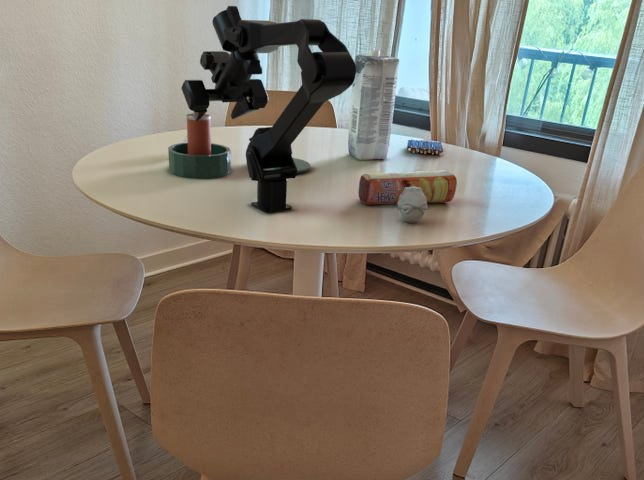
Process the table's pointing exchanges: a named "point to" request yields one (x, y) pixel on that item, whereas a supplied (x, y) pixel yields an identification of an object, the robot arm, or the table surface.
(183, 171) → the pot
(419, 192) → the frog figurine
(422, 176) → the snack package
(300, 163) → the pot lid
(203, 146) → the tin can
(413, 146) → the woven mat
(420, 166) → the table surface
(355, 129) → the juice carton
